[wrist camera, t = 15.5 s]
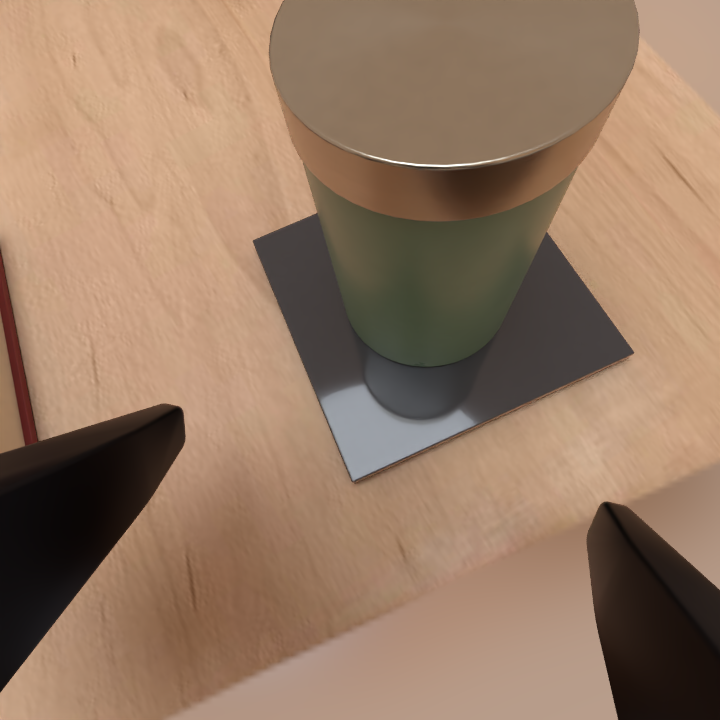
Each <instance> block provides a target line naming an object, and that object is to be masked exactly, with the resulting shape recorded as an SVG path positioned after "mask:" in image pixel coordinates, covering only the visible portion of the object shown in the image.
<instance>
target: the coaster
mask: <svg viewBox="0 0 720 720" xmlns="http://www.w3.org/2000/svg"><path fill="white" fill-rule="evenodd" d="M253 244H254V246H255V248H256V251H257V253H258V256H259V258H260V261H261V263H262V265H263V268H264V270H265V273H266V275H267V277H268V280H269V282H270V285H271V287H272V290H273V292H274V294H275V297H276V299H277V302H278V304H279V307H280V309H281V311H282V314H283V316H284V319H285V321H286V323H287V326H288V328H289V331H290V333H291V336H292V338H293V340H294V343H295V345H296V348H297V350H298V352H299V355H300V357H301V360H302V362H303V365H304V367H305V369H306V372H307V374H308V377H309V379H310V382H311V384H312V386H313V389H314V391H315V394H316V396H317V398H318V401H319V403H320V406H321V408H322V411H323V413H324V415H325V418H326V420H327V423H328V425H329V428H330V430H331V432H332V435H333V437H334V440H335V442H336V444H337V447H338V449H339V452H340V454H341V457H342V459H343V461H344V464H345V466H346V469H347V471H348V474H349V476H350V478H351V481H352V482H353V483H358V482H360V481H362V480H364V479H366V478H368V477H371V476H373V475H375V474H377V473H379V472H381V471H384V470H386V469H388V468H390V467H392V466H395V465H397V464H399V463H401V462H403V461H405V460H408V459H410V458H412V457H414V456H416V455H418V454H421V453H423V452H425V451H427V450H429V449H432V448H434V447H436V446H438V445H440V444H442V443H445V442H447V441H449V440H451V439H453V438H455V437H458V436H460V435H462V434H464V433H466V432H469V431H471V430H473V429H475V428H477V427H479V426H482V425H484V424H486V423H488V422H490V421H492V420H495V419H497V418H499V417H501V416H503V415H506V414H508V413H510V412H512V411H514V410H516V409H519V408H521V407H523V406H525V405H527V404H529V403H532V402H534V401H536V400H538V399H540V398H543V397H545V396H547V395H549V394H551V393H553V392H556V391H558V390H560V389H562V388H564V387H566V386H569V385H571V384H573V383H575V382H577V381H580V380H582V379H584V378H586V377H588V376H590V375H593V374H595V373H597V372H599V371H601V370H603V369H606V368H608V367H610V366H612V365H614V364H617V363H619V362H621V361H623V360H625V359H627V358H629V357H630V356H631V355H633V354H634V351H633V350H632V349H631V347H630V346H629V344H628V343H627V342H626V340H625V339H624V338H623V336H622V335H621V333H620V332H619V331H618V329H617V328H616V327H615V325H614V324H613V322H612V321H611V320H610V318H609V317H608V315H607V314H606V313H605V311H604V310H603V309H602V307H601V306H600V304H599V303H598V302H597V300H596V299H595V298H594V296H593V295H592V293H591V292H590V291H589V289H588V288H587V287H586V285H585V284H584V282H583V281H582V280H581V278H580V277H579V276H578V274H577V273H576V271H575V270H574V269H573V267H572V266H571V265H570V263H569V262H568V260H567V259H566V258H565V256H564V255H563V254H562V252H561V251H560V249H559V248H558V247H557V245H556V244H555V242H554V241H553V240H552V238H551V237H550V236H549V234H548V233H547V232H546V234H545V236H544V238H543V240H542V242H541V244H540V246H539V248H538V250H537V253H536V255H535V257H534V259H533V261H532V263H531V265H530V267H529V269H528V271H527V273H526V275H525V277H524V279H523V281H522V284H521V286H520V288H519V290H518V292H517V294H516V296H515V298H514V300H513V302H512V304H511V306H510V308H509V310H508V312H507V314H506V317H505V319H504V321H503V323H502V324H501V326H500V328H499V330H498V331H497V333H496V334H495V335H494V337H493V338H492V339H491V340H490V341H489V342H488V343H487V344H486V345H485V346H484V347H482V348H481V349H480V350H479V351H477V352H475V353H474V354H472V355H470V356H469V357H467V358H464V359H462V360H460V361H458V362H454V363H451V364H447V365H441V366H435V367H419V366H410V365H406V364H401V363H398V362H395V361H392V360H390V359H388V358H386V357H384V356H382V355H380V354H379V353H377V352H376V351H374V350H373V349H371V348H370V347H369V346H368V345H367V344H366V343H364V342H363V340H362V339H361V338H360V337H359V336H358V335H357V333H356V332H355V330H354V329H353V327H352V325H351V323H350V321H349V319H348V317H347V313H346V310H345V306H344V303H343V299H342V296H341V292H340V289H339V286H338V282H337V279H336V275H335V272H334V268H333V265H332V261H331V258H330V254H329V251H328V248H327V244H326V241H325V237H324V234H323V230H322V227H321V223H320V220H319V216H318V213H316V214H314V215H312V216H309V217H307V218H305V219H302V220H300V221H298V222H295V223H293V224H290V225H288V226H286V227H283V228H281V229H279V230H276V231H274V232H272V233H269V234H267V235H264V236H262V237H260V238H257V239H255V240H253Z"/></svg>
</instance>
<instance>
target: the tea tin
mask: <svg viewBox="0 0 720 720" xmlns="http://www.w3.org/2000/svg"><path fill="white" fill-rule="evenodd" d="M639 33H640V29H639V20H638V12H637V9H636V6H635V3H634V0H284V1H283V3H282V4H281V7H280V9H279V11H278V13H277V15H276V18H275V20H274V24H273V27H272V31H271V35H270V45H269V61H270V70H271V74H272V77H273V81H274V84H275V87H276V91H277V94H278V97H279V101H280V104H281V107H282V111H283V114H284V117H285V121H286V124H287V127H288V130H289V134H290V137H291V140H292V143H293V145H294V147H295V149H296V151H297V153H298V155H299V156H300V158H301V159H302V161H303V165H304V168H305V172H306V175H307V178H308V182H309V185H310V189H311V192H312V196H313V199H314V203H315V206H316V210H317V213H318V216H319V220H320V223H321V227H322V230H323V234H324V237H325V241H326V244H327V248H328V251H329V254H330V258H331V261H332V265H333V268H334V272H335V275H336V279H337V282H338V286H339V289H340V292H341V296H342V299H343V303H344V306H345V310H346V313H347V317H348V319H349V321H350V323H351V325H352V327H353V329H354V330H355V332H356V333H357V335H358V336H359V337H360V338H361V339H362V340H363V342H364V343H366V344H367V345H368V346H369V347H370V348H371V349H373V350H374V351H376V352H377V353H379V354H380V355H382V356H384V357H386V358H388V359H390V360H392V361H395V362H398V363H401V364H406V365H410V366H419V367H435V366H441V365H447V364H451V363H454V362H458V361H460V360H462V359H464V358H467V357H469V356H470V355H472V354H474V353H475V352H477V351H479V350H480V349H481V348H482V347H484V346H485V345H486V344H487V343H488V342H489V341H490V340H491V339H492V338H493V337H494V335H495V334H496V333H497V331H498V330H499V328H500V326H501V324H502V323H503V321H504V319H505V317H506V314H507V312H508V310H509V308H510V306H511V304H512V302H513V300H514V298H515V296H516V294H517V292H518V290H519V288H520V286H521V284H522V281H523V279H524V277H525V275H526V273H527V271H528V269H529V267H530V265H531V263H532V261H533V259H534V257H535V255H536V253H537V250H538V248H539V246H540V244H541V242H542V240H543V238H544V236H545V234H546V232H547V230H548V228H549V226H550V224H551V222H552V220H553V217H554V215H555V213H556V211H557V209H558V207H559V205H560V203H561V201H562V199H563V197H564V195H565V193H566V191H567V189H568V186H569V184H570V182H571V180H572V178H573V176H574V174H575V172H576V170H577V168H578V166H579V165H580V164H581V163H582V161H583V160H584V159H585V157H586V156H587V155H588V153H589V152H590V151H591V149H592V148H593V146H594V144H595V142H596V140H597V138H598V137H599V135H600V133H601V131H602V129H603V127H604V125H605V123H606V121H607V119H608V117H609V115H610V113H611V111H612V109H613V107H614V105H615V103H616V101H617V99H618V97H619V95H620V93H621V91H622V89H623V87H624V85H625V83H626V81H627V79H628V77H629V75H630V73H631V71H632V69H633V65H634V62H635V59H636V55H637V52H638V44H639Z"/></svg>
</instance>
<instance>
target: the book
mask: <svg viewBox="0 0 720 720" xmlns="http://www.w3.org/2000/svg"><path fill="white" fill-rule="evenodd" d="M36 442H38V441H37V436H36V431H35V425H34V420H33V415H32V410H31V405H30V400H29V395H28V390H27V385H26V380H25V375H24V369H23V364H22V359H21V354H20V349H19V344H18V339H17V334H16V329H15V324H14V319H13V313H12V308H11V303H10V298H9V293H8V288H7V283H6V278H5V273H4V268H3V262H2V257H1V252H0V453H4V452H7V451H10V450H13V449H17V448H20V447H23V446H26V445H30V444H33V443H36Z"/></svg>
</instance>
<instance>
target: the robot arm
mask: <svg viewBox="0 0 720 720" xmlns="http://www.w3.org/2000/svg"><path fill="white" fill-rule="evenodd" d="M184 443H185V424H184V413H183V410H182V408H181V407H179V406H175V405H170V404H160V405H156V406H153V407H150V408H147V409H143V410H140V411H137V412H134V413H130V414H127V415H124V416H121V417H117V418H114V419H111V420H108V421H104V422H101V423H98V424H95V425H91V426H88V427H85V428H82V429H78V430H75V431H72V432H69V433H65V434H62V435H59V436H56V437H52V438H49V439H46V440H43V441H39V442H36V443H33V444H30V445H26V446H23V447H20V448H17V449H13V450H10V451H7V452H4V453H0V692H1V691H2V690H3V688H4V687H5V686H6V685H7V683H8V682H9V681H10V679H11V678H12V677H13V676H14V674H15V673H16V672H17V670H18V669H19V668H20V667H21V665H22V664H23V663H24V661H25V660H26V659H27V658H28V656H29V655H30V654H31V652H32V651H33V650H34V649H35V647H36V646H37V645H38V643H39V642H40V641H41V640H42V638H43V637H44V636H45V634H46V633H47V632H48V631H49V629H50V628H51V627H52V625H53V624H54V623H55V622H56V620H57V619H58V618H59V616H60V615H61V614H62V613H63V611H64V610H65V609H66V607H67V606H68V605H69V604H70V602H71V601H72V600H73V598H74V597H75V596H76V595H77V593H78V592H79V591H80V589H81V588H82V587H83V586H84V584H85V583H86V582H87V580H88V579H89V578H90V577H91V575H92V574H93V573H94V571H95V570H96V569H97V568H98V566H99V565H100V564H101V562H102V561H103V560H104V559H105V557H106V556H107V555H108V553H109V552H110V551H111V550H112V548H113V547H114V546H115V544H116V543H117V542H118V541H119V539H120V538H121V537H122V535H123V534H124V533H125V532H126V530H127V529H128V528H129V526H130V525H131V524H132V523H133V521H134V520H135V519H136V517H137V516H138V515H139V514H140V512H141V511H142V510H143V508H144V507H145V506H146V504H147V503H148V502H149V500H150V499H151V497H152V496H153V494H154V493H155V491H156V489H157V488H158V486H159V485H160V483H161V481H162V480H163V478H164V477H165V475H166V473H167V472H168V470H169V469H170V467H171V465H172V464H173V462H174V461H175V459H176V457H177V456H178V454H179V453H180V451H181V449H182V448H183V445H184ZM587 551H588V560H589V568H590V577H591V586H592V595H593V604H594V611H595V618H596V623H597V629H598V634H599V638H600V642H601V646H602V651H603V655H604V660H605V664H606V668H607V673H608V677H609V681H610V686H611V690H612V694H613V698H614V703H615V708H616V712H617V716H618V720H720V590H719V589H718V588H717V587H716V586H715V585H714V584H712V583H711V582H710V581H709V580H708V579H707V578H706V577H704V575H702V574H701V573H700V572H699V571H698V570H697V569H696V568H695V567H694V566H693V565H691V564H690V563H689V562H688V561H687V560H686V559H685V558H684V557H683V556H681V555H680V554H679V553H678V552H677V551H676V550H675V549H674V548H673V547H671V546H670V545H669V544H668V543H667V542H666V541H665V540H663V538H661V537H660V536H659V535H658V534H657V533H656V532H655V531H654V530H652V528H650V527H649V526H648V525H647V524H646V523H645V522H644V521H643V520H642V519H640V518H639V517H638V516H637V515H636V514H635V513H634V512H633V511H632V510H631V509H629V508H628V507H627V506H624V505H620V504H616V503H611V502H603V503H602V504H601V505H600V506H599V508H598V510H597V512H596V515H595V517H594V519H593V521H592V524H591V526H590V528H589V530H588V534H587Z"/></svg>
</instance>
